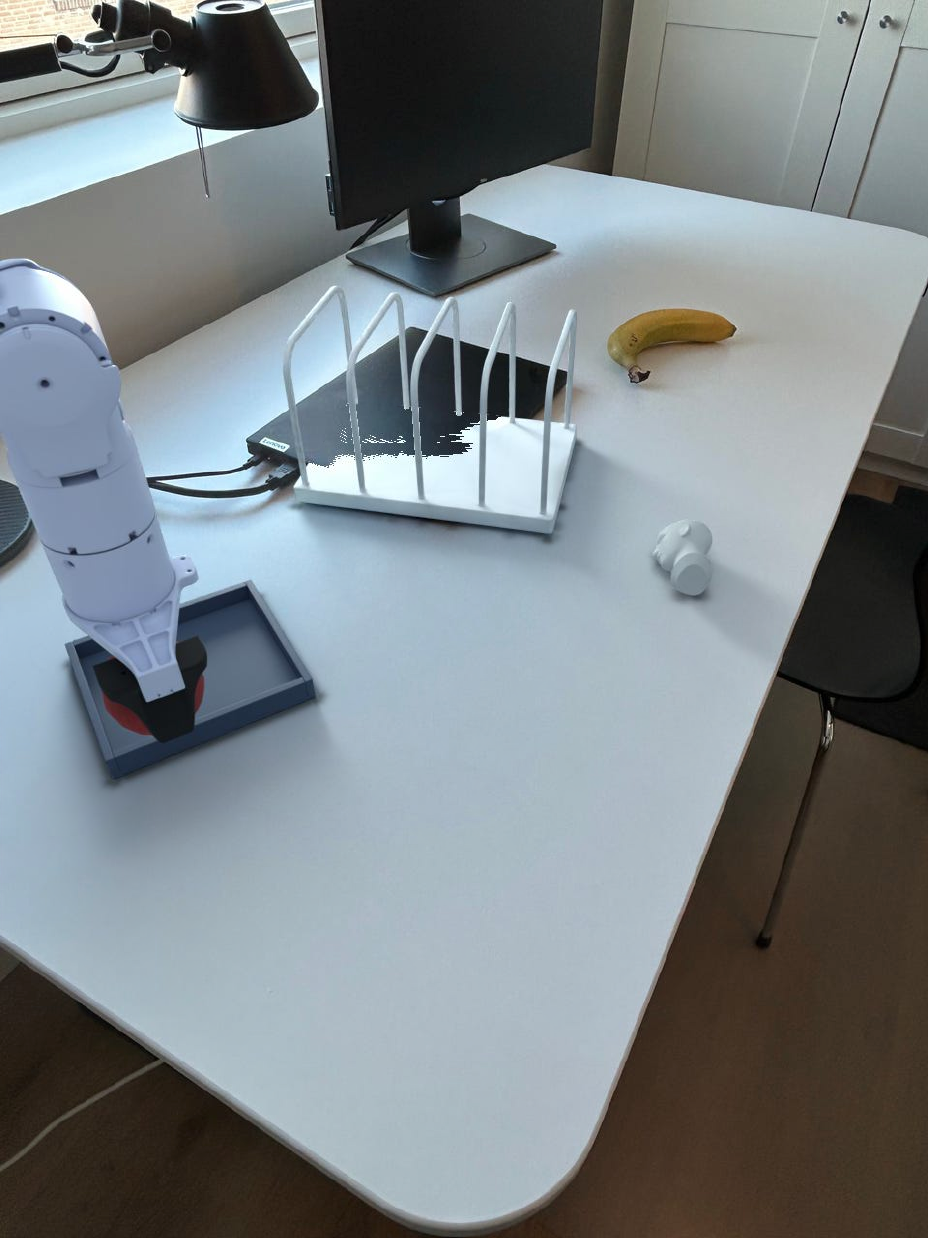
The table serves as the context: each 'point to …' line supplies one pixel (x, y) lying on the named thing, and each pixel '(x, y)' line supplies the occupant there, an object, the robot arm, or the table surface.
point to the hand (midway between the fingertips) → (161, 699)
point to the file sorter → (462, 483)
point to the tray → (206, 676)
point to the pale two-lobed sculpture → (685, 555)
